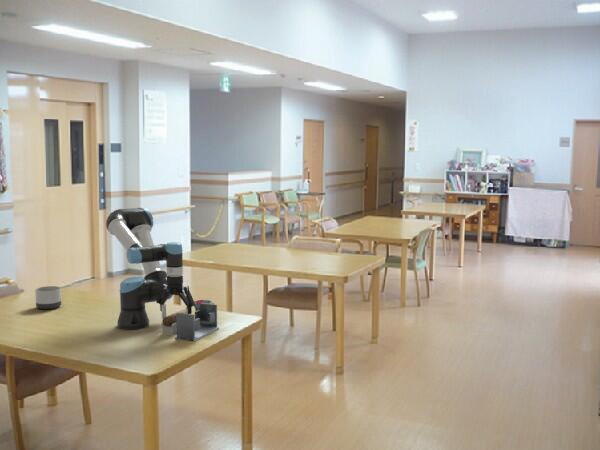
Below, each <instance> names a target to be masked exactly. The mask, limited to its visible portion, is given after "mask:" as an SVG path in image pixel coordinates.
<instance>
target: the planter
mask: <svg viewBox="0 0 600 450" xmlns="http://www.w3.org/2000/svg"><path fill="white" fill-rule="evenodd" d="M61 288H62V287H60V286H56V285H52V286H51V285H49V286H41V287H36V288H35V290H34V292H35V307H36V308H38V309H41V310H53V309H52V308H54V309H57V308H58V307H60V306H61V305H62V289H61Z"/></svg>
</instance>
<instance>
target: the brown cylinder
mask: <svg viewBox="0 0 600 450" xmlns="http://www.w3.org/2000/svg"><path fill="white" fill-rule="evenodd" d="M176 313H185V314H186V309H182V310H179V311H176V312H175V313H172V314H169V315H166V317H165V318H163V319H162V322H161V323H163V325H164V326H166V327H168V326H170V325H172V324H174V323H176Z"/></svg>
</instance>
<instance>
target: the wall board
mask: <svg viewBox="0 0 600 450" xmlns="http://www.w3.org/2000/svg"><path fill="white" fill-rule="evenodd" d="M218 330H220V326H217V327H209V326H202V325H200V329H199V330H197V331H195V338H194V341H193V342H197V341H200V340H201V339H203V338H205V337H207V336H209V335H210V334H212V333H214V332H216V331H218ZM180 338H182V337H180ZM174 339H177V335H174ZM184 339H185V340H184V341H187V340H186V338H184ZM187 339H188V338H187ZM177 340H178V339H177ZM189 340H190V338H189ZM189 340H188V341H189Z"/></svg>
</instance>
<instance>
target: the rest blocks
mask: <svg viewBox="0 0 600 450" xmlns="http://www.w3.org/2000/svg"><path fill="white" fill-rule="evenodd" d="M160 326H161V334H162V335H166V336H167V335H168V336H176V335H177V328H176V323H174V324H172V325H170V326H168V327H166V326H164V325H163V322H161V325H160Z"/></svg>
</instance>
